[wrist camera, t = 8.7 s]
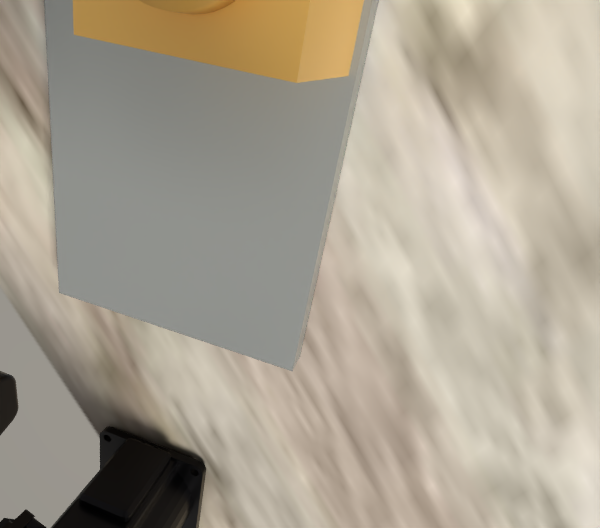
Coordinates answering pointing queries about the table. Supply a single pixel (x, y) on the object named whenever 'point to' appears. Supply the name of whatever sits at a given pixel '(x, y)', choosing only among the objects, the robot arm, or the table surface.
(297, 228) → the plate
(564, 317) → the table surface
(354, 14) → the domed push button
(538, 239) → the table surface
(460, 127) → the table surface
